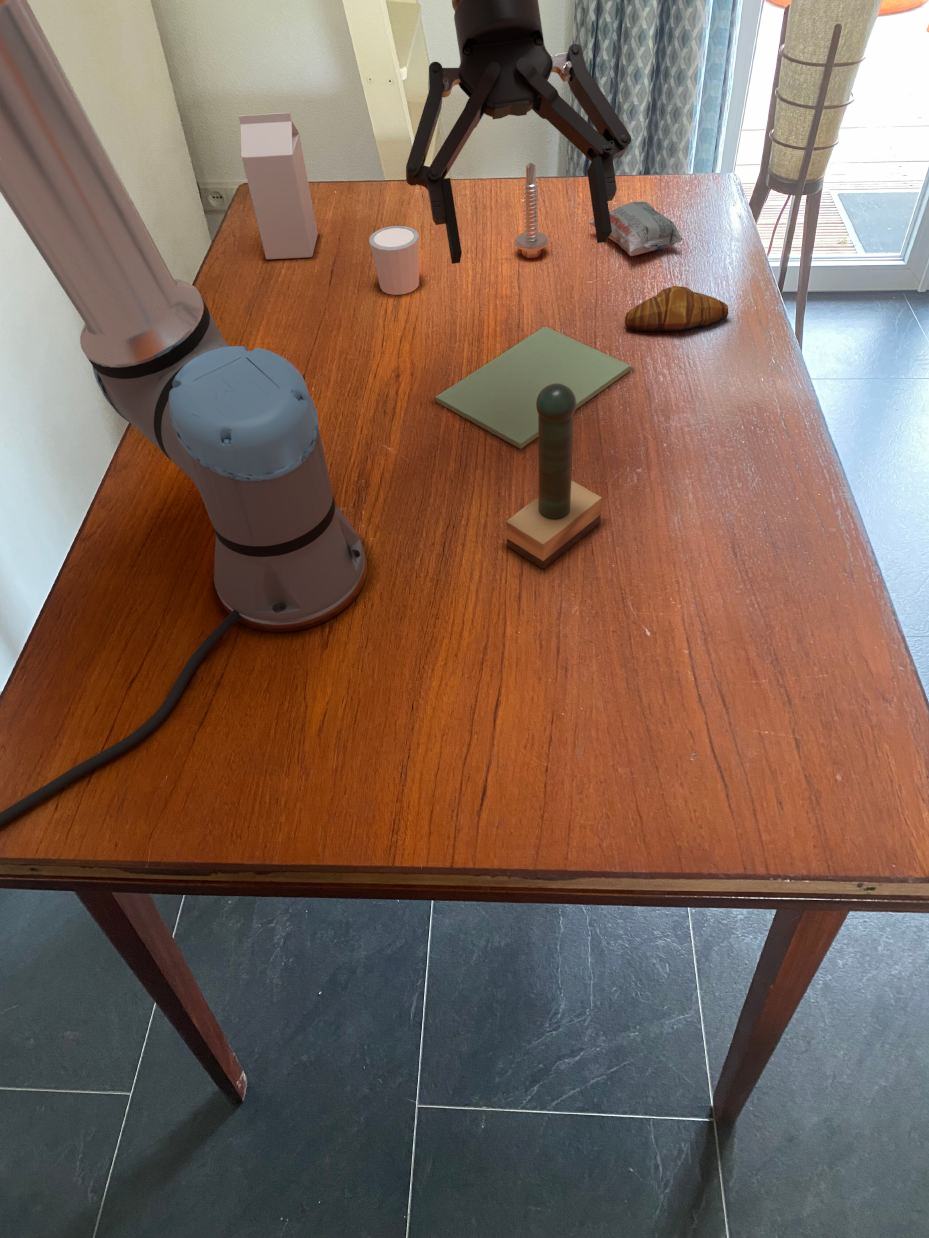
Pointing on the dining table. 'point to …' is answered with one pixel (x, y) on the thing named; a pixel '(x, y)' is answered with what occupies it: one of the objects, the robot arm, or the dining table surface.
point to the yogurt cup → (396, 258)
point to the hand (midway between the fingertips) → (531, 248)
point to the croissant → (676, 311)
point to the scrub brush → (554, 487)
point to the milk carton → (278, 185)
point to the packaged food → (641, 228)
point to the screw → (531, 219)
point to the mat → (529, 383)
